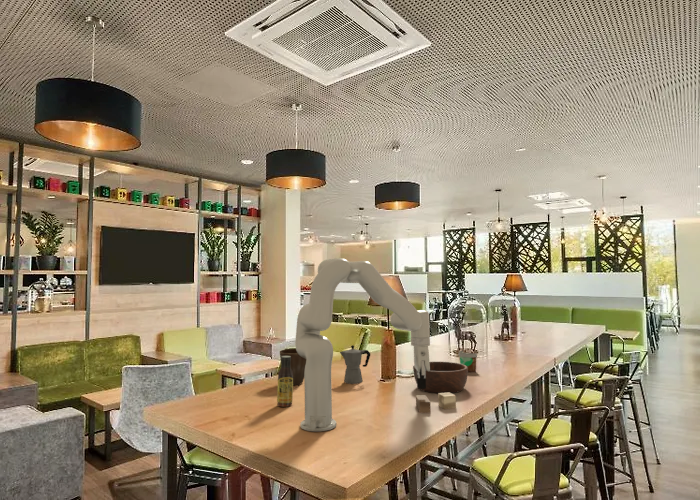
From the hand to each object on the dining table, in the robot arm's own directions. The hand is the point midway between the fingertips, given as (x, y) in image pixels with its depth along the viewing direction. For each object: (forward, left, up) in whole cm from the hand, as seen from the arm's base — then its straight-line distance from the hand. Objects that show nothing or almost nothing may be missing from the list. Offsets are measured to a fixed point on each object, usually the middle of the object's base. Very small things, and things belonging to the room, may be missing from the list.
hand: (421, 388), depth 180 cm
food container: (+68, -36, -8) cm, 77 cm away
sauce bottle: (+7, +55, -8) cm, 56 cm away
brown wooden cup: (+46, +55, -8) cm, 72 cm away
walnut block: (+3, 0, -6) cm, 6 cm away
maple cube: (0, -10, -8) cm, 13 cm away
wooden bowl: (+30, -14, -8) cm, 34 cm away
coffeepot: (+47, +25, -8) cm, 54 cm away
